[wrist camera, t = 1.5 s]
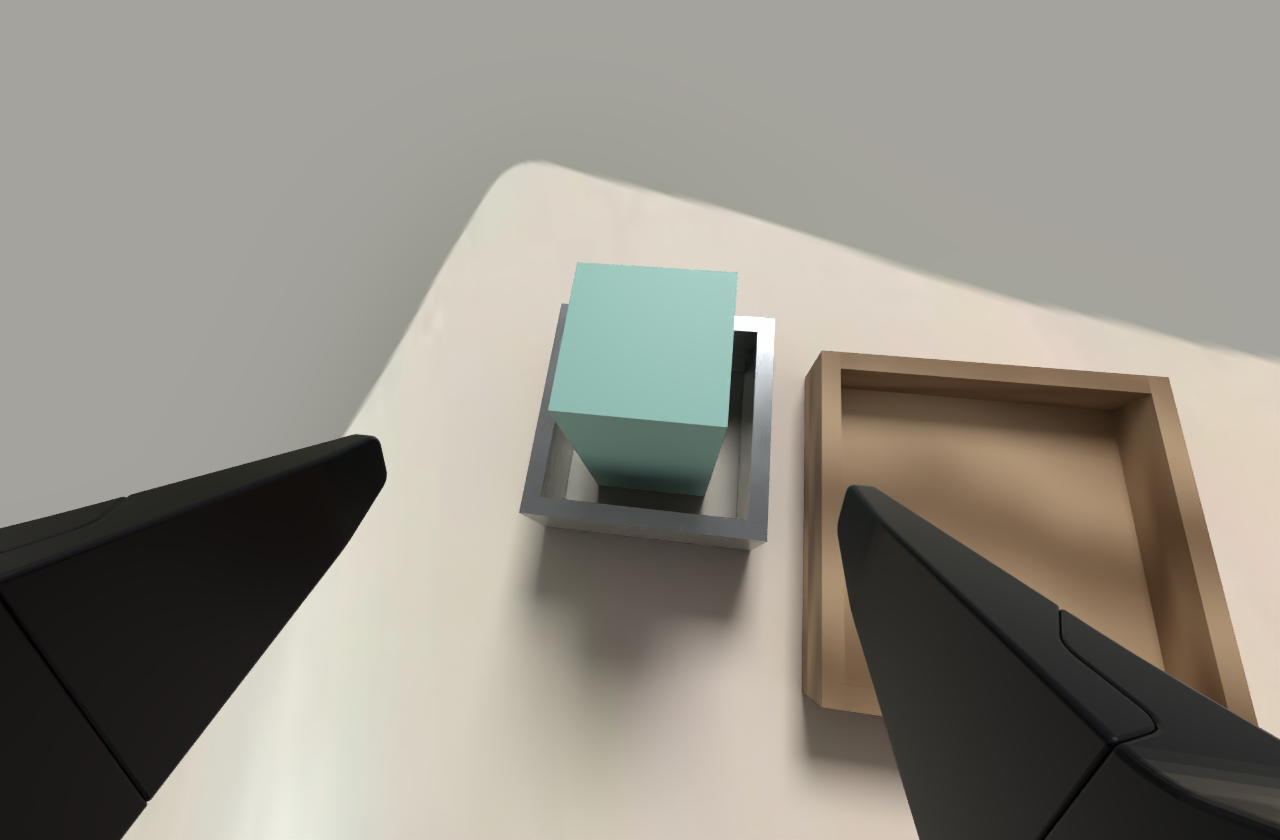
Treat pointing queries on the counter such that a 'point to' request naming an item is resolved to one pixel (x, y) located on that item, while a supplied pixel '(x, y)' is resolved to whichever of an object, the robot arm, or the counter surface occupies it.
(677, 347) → the block
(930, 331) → the counter surface
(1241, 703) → the tray
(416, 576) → the counter surface
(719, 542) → the holder
